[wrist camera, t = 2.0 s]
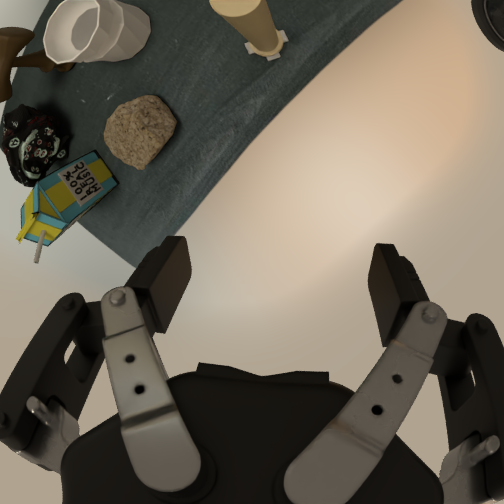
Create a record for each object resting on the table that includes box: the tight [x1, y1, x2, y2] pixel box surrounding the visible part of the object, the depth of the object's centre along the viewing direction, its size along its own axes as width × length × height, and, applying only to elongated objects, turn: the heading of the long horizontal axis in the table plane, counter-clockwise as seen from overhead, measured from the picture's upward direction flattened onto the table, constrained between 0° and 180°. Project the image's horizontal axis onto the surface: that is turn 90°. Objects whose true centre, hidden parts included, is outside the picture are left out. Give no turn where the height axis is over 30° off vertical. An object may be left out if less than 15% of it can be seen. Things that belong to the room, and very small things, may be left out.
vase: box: [43, 0, 151, 64], centre depth 22 cm, size 9×9×12 cm
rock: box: [104, 95, 177, 170], centre depth 33 cm, size 10×8×8 cm
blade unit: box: [209, 0, 288, 61], centre depth 19 cm, size 5×5×20 cm
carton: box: [16, 150, 119, 263], centre depth 33 cm, size 7×8×18 cm
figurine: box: [2, 104, 69, 187], centre depth 31 cm, size 10×15×14 cm
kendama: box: [0, 27, 75, 103], centre depth 21 cm, size 6×10×20 cm, turn 143°
